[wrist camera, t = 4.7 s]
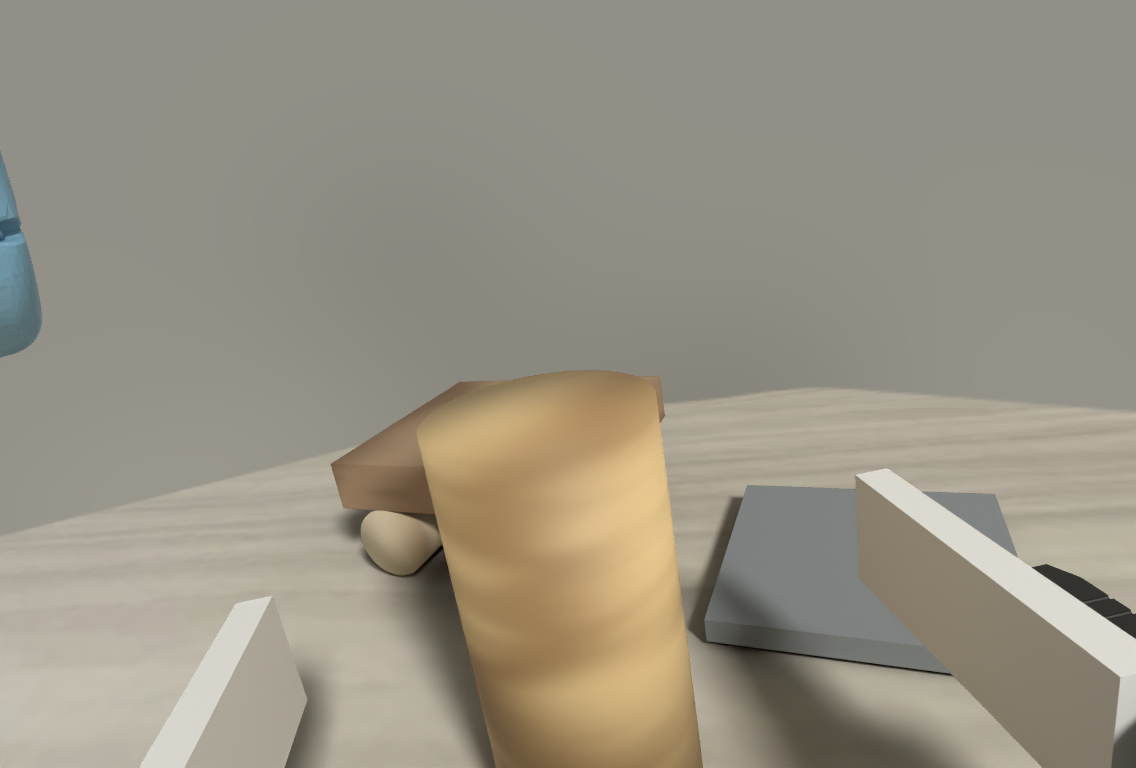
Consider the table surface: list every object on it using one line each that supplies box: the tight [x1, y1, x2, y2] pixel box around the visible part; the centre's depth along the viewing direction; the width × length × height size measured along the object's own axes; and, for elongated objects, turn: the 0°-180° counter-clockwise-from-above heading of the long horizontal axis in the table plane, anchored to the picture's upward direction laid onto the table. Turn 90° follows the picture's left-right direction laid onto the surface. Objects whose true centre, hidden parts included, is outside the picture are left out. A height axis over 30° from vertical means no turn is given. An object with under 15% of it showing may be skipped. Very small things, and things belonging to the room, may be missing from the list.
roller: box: [417, 370, 703, 768], centre depth 15 cm, size 5×5×10 cm
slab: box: [331, 376, 665, 575], centre depth 30 cm, size 11×10×5 cm
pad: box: [704, 485, 1018, 674], centre depth 23 cm, size 9×9×1 cm
